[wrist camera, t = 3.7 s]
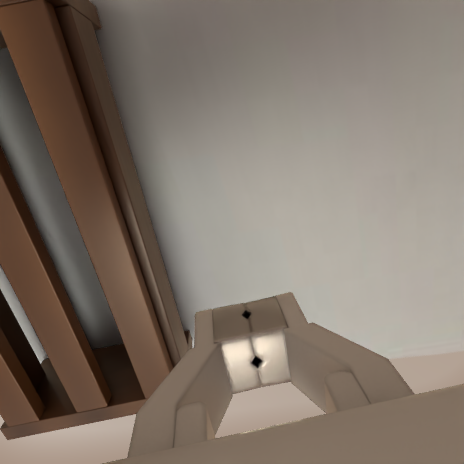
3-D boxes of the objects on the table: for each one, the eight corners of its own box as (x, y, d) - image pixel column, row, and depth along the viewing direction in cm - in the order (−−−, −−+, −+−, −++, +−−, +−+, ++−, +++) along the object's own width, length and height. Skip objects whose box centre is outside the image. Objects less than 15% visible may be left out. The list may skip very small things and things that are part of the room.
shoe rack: (95, 6, 19) (45, -41, 13) (192, 340, 29) (189, 403, 23) (-121, 47, 19) (-273, 21, 13) (48, 369, 28) (7, 440, 22)
